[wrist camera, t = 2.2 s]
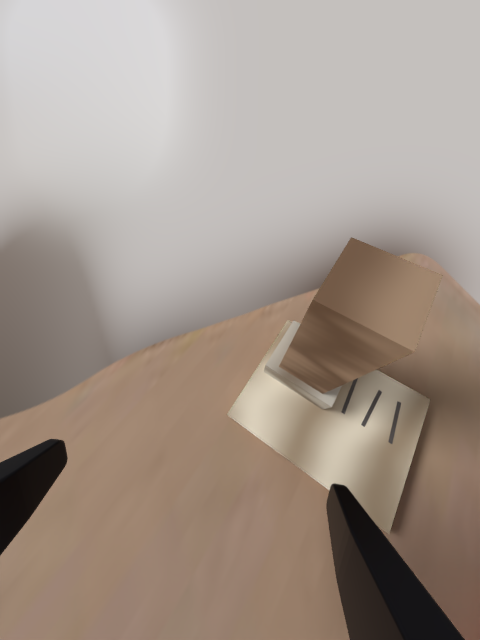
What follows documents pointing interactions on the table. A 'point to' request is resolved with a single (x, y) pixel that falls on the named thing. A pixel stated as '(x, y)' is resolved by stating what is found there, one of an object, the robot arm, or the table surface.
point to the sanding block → (355, 323)
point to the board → (340, 433)
